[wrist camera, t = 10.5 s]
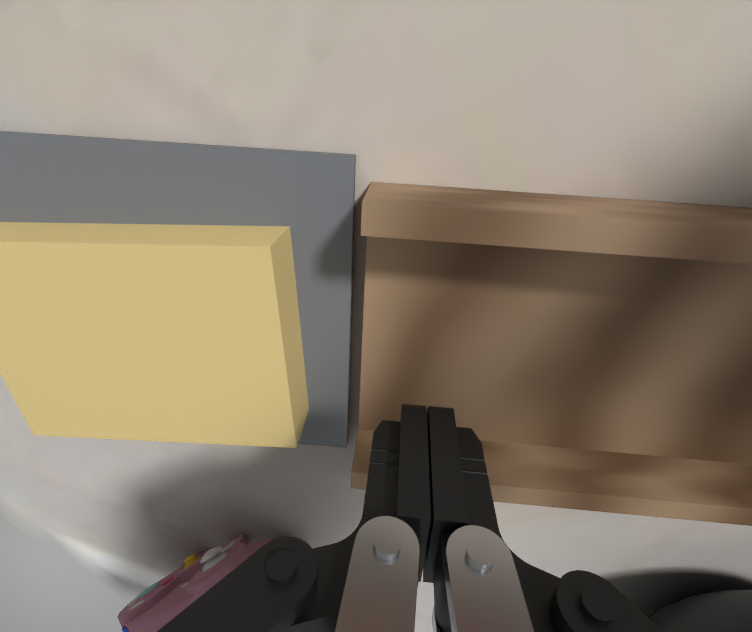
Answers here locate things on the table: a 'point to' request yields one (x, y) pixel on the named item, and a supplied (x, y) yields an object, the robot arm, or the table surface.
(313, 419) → the charcoal mat
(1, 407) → the table surface
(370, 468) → the robot arm
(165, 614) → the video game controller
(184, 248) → the cover plate
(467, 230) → the walnut box
